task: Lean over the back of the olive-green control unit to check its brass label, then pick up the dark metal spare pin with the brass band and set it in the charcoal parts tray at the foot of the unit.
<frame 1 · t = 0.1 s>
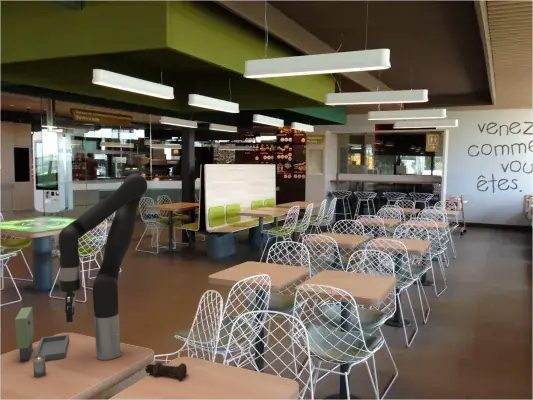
hand: (70, 318, 181), 17 cm above the table, tool pointing down, fingers open, 8 cm apart
bolt: (165, 376, 169), on the table
parts tray: (52, 350, 192), on the table
control unit: (26, 355, 187), on the table
spare pin: (39, 375, 171), on the table
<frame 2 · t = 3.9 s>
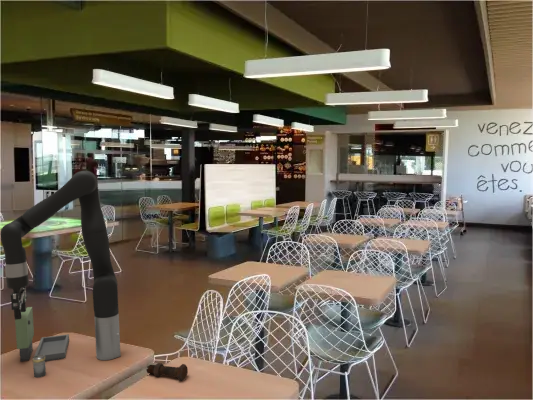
hand: (20, 315, 177), 20 cm above the table, tool pointing down, fingers open, 8 cm apart
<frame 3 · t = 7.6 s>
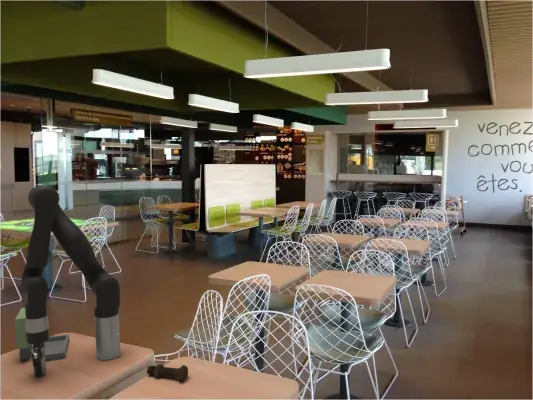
hand: (39, 372, 170), 1 cm above the table, tool pointing down, fingers closed on spare pin, 4 cm apart
spare pin: (39, 375, 171), on the table, touching gripper
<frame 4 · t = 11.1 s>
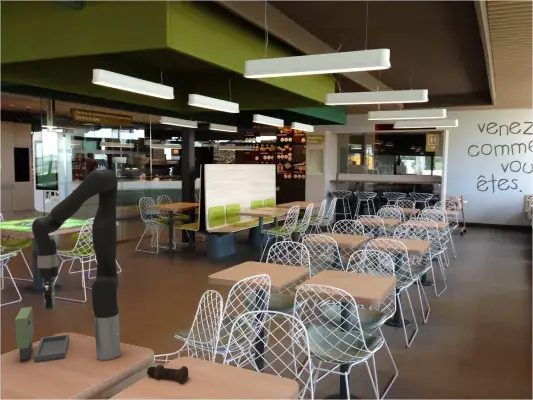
hand: (50, 305, 190), 19 cm above the table, tool pointing down, fingers closed on spare pin, 4 cm apart
spare pin: (49, 307, 190), point 18 cm above the table, touching gripper
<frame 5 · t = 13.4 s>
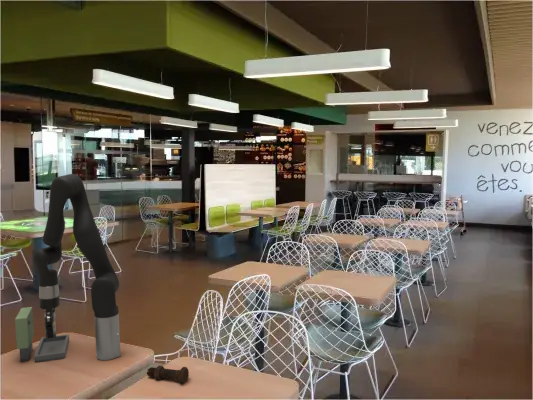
hand: (51, 335, 191), 7 cm above the table, tool pointing down, fingers closed on spare pin, 4 cm apart
spare pin: (50, 337, 191), point 6 cm above the table, touching gripper
when the fingers open (3 cm above the table, at t = 15.1 s): spare pin drops 1 cm, resting on parts tray.
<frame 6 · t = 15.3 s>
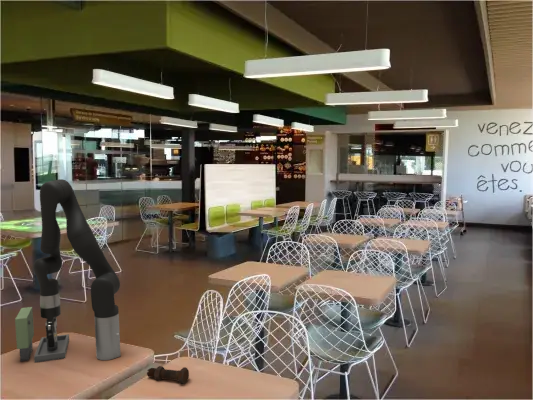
hand: (52, 343, 192), 3 cm above the table, tool pointing down, fingers open, 6 cm apart
spare pin: (52, 349, 192), point 1 cm above the table, touching parts tray
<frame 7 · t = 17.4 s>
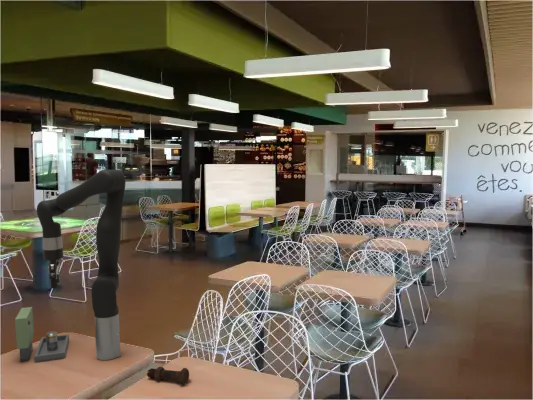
hand: (55, 285, 194), 27 cm above the table, tool pointing down, fingers open, 8 cm apart
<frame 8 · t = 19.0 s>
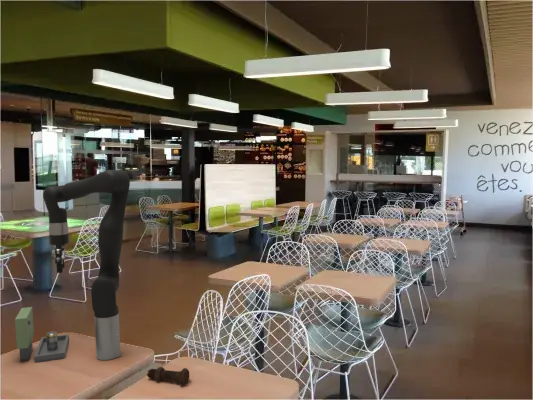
hand: (60, 270, 197), 32 cm above the table, tool pointing down, fingers open, 8 cm apart
at the end: spare pin inside the target area on the parts tray (0.1 cm from its centre), point 0.6 cm above the parts tray's base; the gripper is holding nothing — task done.
